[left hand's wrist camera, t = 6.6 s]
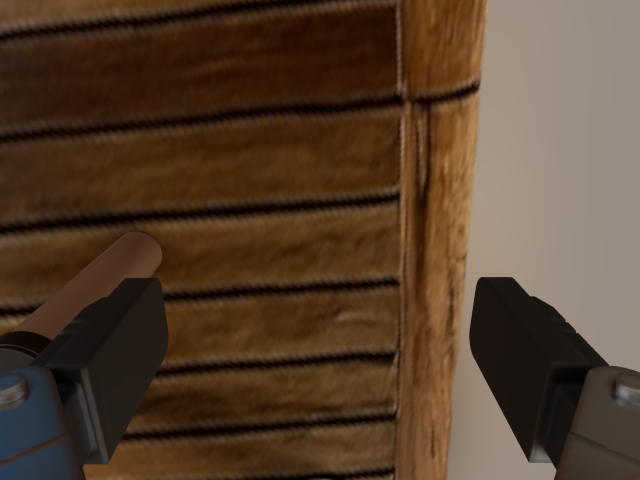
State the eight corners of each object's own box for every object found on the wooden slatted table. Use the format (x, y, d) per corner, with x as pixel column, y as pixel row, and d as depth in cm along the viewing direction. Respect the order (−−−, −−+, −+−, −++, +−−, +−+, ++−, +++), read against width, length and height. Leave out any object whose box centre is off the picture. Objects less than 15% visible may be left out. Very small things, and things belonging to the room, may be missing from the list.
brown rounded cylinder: (168, 242, 42) (64, 364, 25) (154, 280, 44) (48, 420, 27) (122, 223, 41) (-17, 336, 24) (110, 263, 43) (-29, 395, 26)
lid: (81, 348, 26) (65, 367, 25) (63, 408, 28) (47, 429, 26) (-4, 318, 25) (-27, 336, 24) (-18, 381, 27) (-40, 402, 25)
